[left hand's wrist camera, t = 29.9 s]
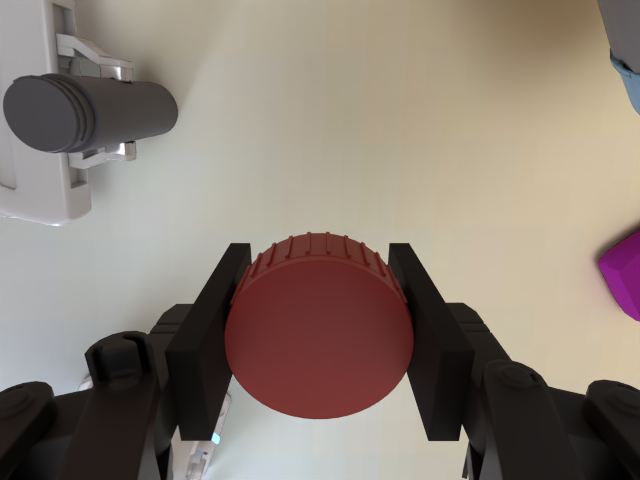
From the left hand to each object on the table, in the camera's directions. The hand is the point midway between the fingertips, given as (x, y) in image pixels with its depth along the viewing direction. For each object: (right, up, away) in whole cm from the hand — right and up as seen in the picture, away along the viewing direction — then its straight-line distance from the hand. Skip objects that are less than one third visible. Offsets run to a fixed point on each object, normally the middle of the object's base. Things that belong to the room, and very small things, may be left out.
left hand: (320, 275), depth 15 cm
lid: (0, -2, -4) cm, 4 cm away
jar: (-16, +14, +20) cm, 29 cm away
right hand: (-15, +12, +15) cm, 24 cm away
